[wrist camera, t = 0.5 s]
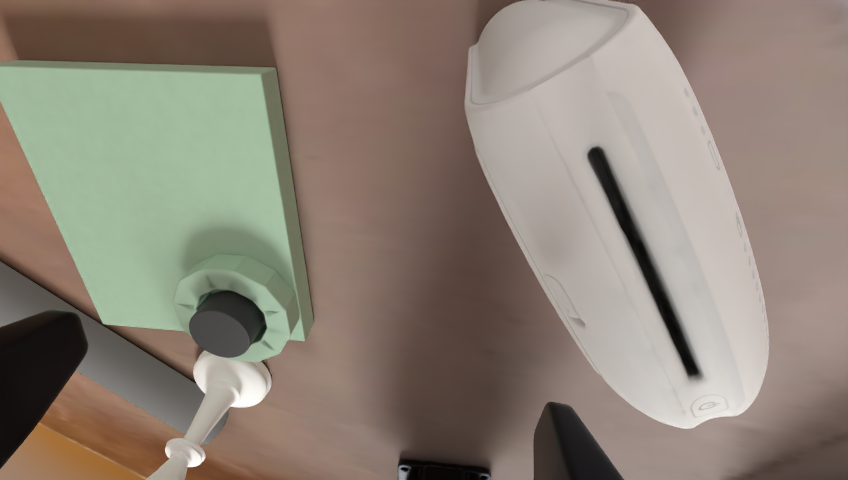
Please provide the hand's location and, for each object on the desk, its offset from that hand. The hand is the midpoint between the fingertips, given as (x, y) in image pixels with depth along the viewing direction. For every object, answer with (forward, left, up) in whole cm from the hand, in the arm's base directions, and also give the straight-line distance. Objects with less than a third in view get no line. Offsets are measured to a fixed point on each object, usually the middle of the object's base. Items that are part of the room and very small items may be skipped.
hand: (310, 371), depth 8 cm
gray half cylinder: (-14, +21, -13) cm, 28 cm away
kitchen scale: (-4, +12, -13) cm, 18 cm away
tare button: (-8, +9, -11) cm, 16 cm away
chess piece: (-16, +11, -14) cm, 23 cm away
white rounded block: (+1, -6, -14) cm, 15 cm away
